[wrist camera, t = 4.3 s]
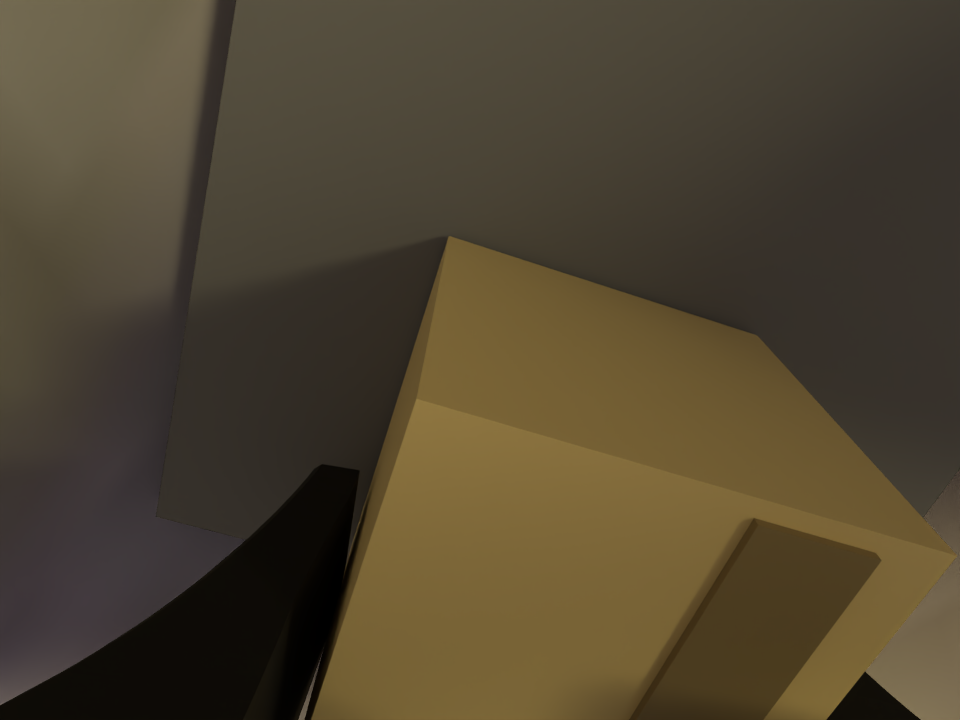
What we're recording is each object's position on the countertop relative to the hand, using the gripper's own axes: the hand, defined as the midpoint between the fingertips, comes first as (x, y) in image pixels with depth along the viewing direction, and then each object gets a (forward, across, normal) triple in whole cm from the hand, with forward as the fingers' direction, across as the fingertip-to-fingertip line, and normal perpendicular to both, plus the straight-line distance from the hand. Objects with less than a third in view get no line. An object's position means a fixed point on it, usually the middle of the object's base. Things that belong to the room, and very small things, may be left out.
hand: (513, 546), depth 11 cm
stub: (+1, 0, -1) cm, 2 cm away
